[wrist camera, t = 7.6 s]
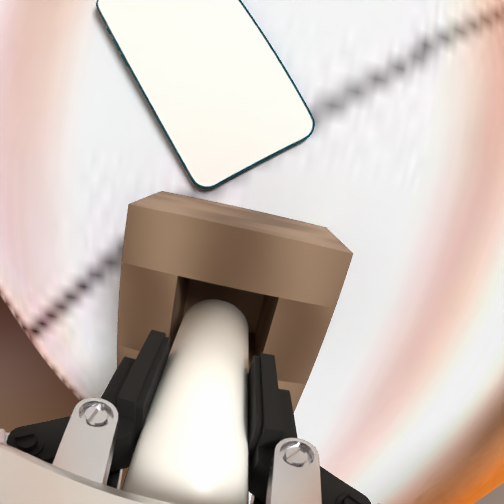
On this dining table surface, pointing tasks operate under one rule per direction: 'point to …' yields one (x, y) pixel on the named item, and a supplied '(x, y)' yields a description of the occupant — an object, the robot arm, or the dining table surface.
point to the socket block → (230, 278)
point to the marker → (198, 414)
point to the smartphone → (209, 82)
